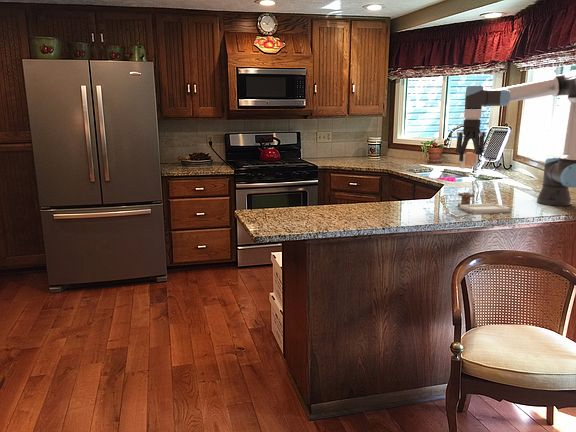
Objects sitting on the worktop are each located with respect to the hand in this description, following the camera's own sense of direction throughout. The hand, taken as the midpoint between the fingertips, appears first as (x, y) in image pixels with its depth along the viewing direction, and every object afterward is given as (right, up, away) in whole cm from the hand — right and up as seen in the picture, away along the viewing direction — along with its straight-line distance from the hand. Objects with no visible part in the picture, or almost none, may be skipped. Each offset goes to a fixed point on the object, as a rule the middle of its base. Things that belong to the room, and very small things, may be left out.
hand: (468, 167), depth 236 cm
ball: (0, +2, 0) cm, 2 cm away
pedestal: (0, -18, +4) cm, 19 cm away
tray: (+5, -21, -6) cm, 22 cm away
